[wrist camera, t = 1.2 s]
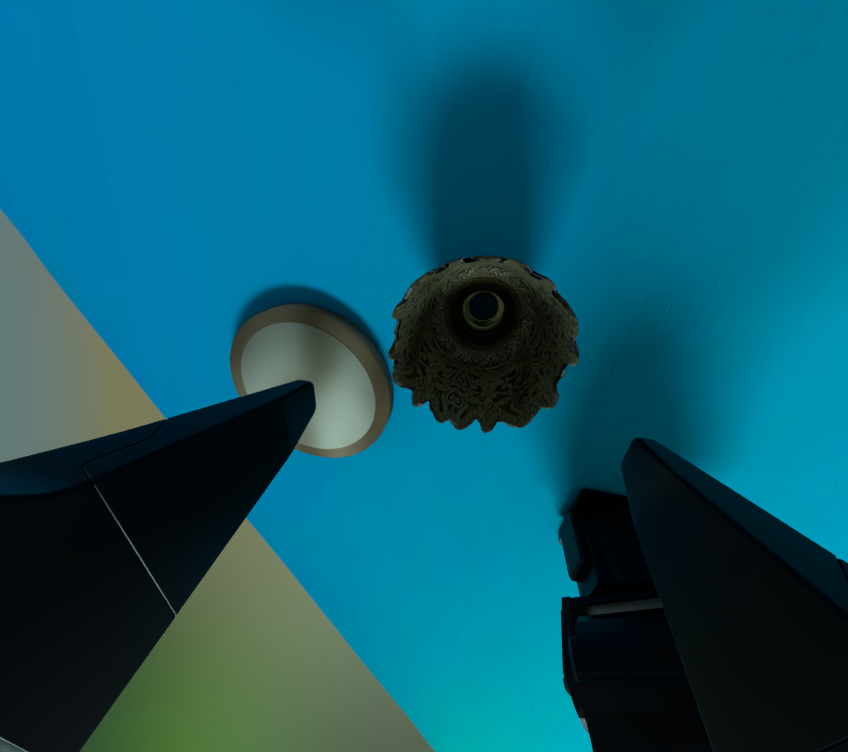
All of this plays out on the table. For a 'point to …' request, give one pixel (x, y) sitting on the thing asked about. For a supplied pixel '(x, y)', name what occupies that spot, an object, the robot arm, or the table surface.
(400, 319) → the cup
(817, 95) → the table surface
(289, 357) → the hub plate
